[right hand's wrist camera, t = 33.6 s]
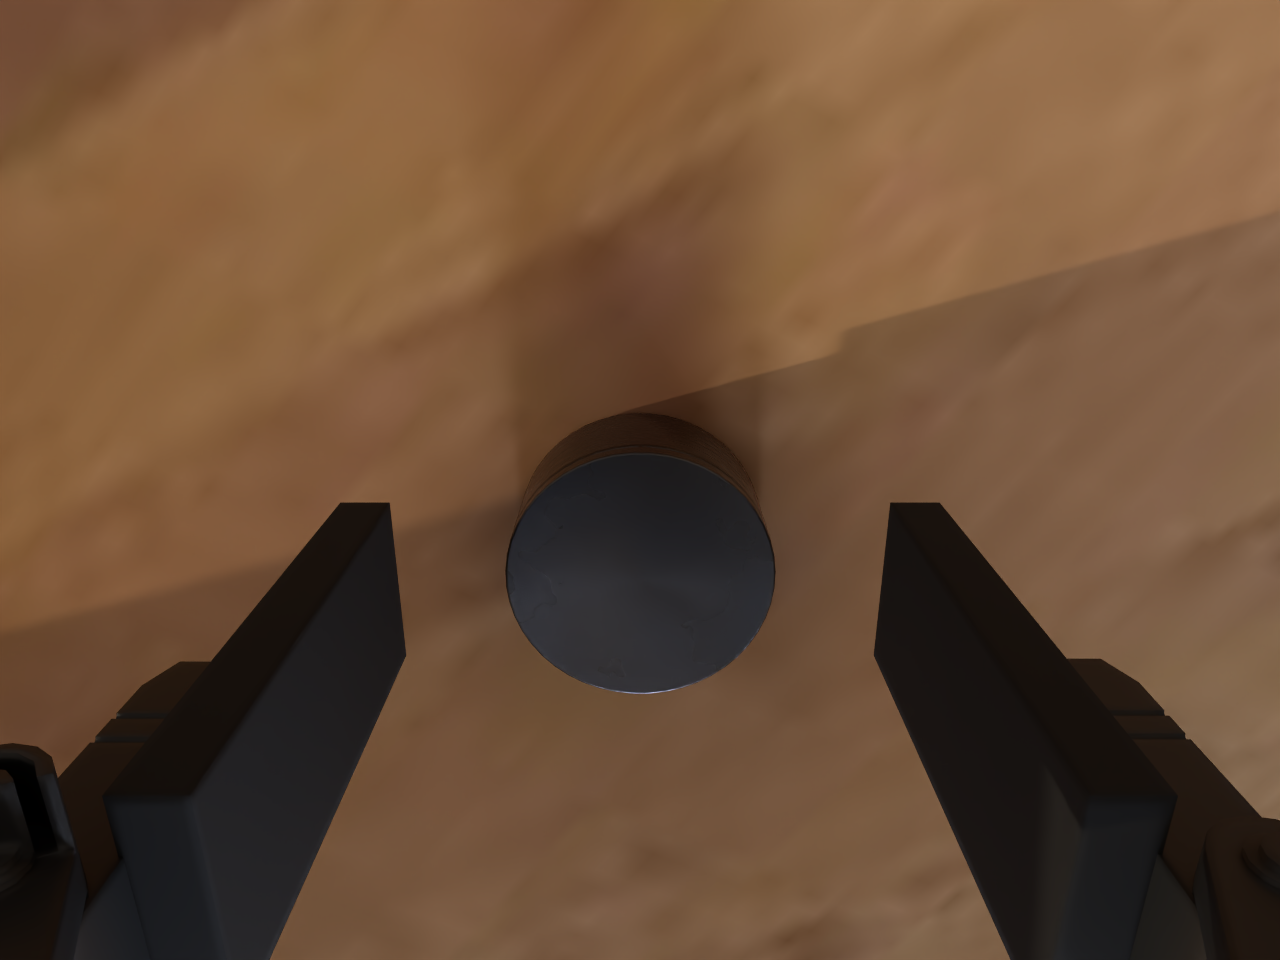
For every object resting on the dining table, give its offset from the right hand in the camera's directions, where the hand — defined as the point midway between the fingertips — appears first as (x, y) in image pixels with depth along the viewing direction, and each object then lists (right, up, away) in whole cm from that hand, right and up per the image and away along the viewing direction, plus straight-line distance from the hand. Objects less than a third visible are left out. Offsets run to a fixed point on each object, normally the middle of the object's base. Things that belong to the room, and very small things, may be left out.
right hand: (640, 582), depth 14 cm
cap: (0, 0, 0) cm, 0 cm away
